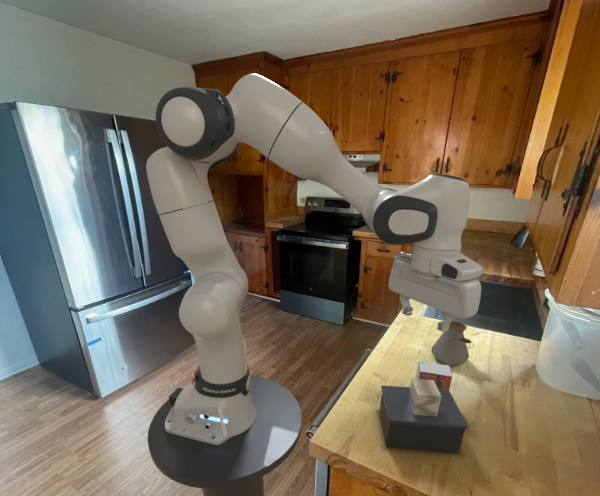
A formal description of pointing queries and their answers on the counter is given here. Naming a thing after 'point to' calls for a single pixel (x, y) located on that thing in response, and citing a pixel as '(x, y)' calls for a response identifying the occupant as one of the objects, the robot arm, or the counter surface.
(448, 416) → the storage box
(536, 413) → the counter surface
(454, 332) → the coffee pot
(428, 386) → the beige cube block
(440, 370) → the small box
